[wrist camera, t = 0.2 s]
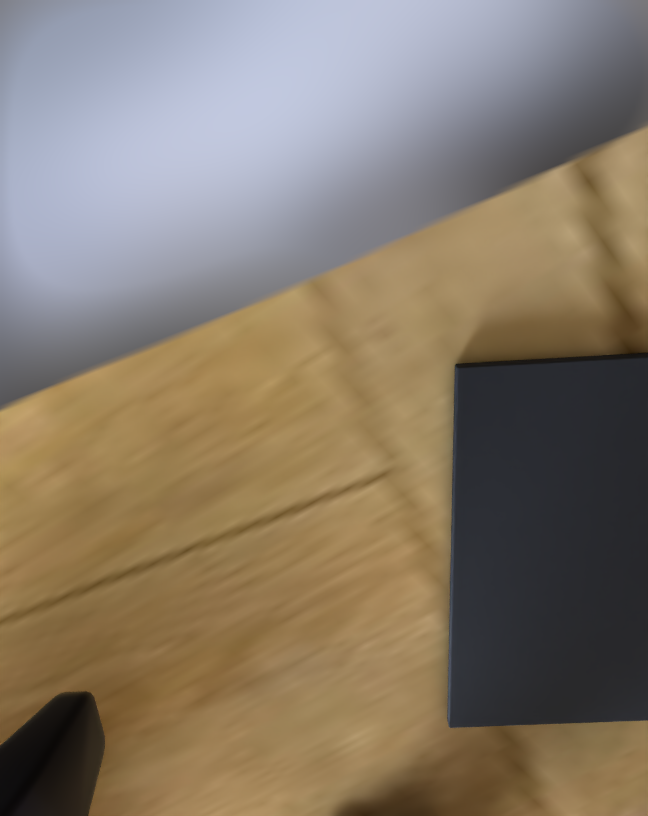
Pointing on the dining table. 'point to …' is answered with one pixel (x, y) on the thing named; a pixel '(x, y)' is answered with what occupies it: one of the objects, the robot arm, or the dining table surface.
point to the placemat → (549, 542)
